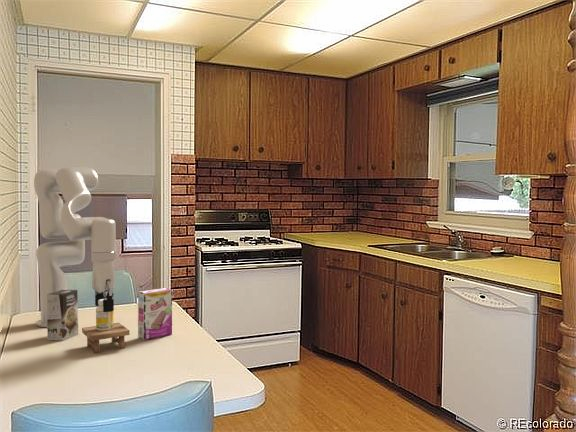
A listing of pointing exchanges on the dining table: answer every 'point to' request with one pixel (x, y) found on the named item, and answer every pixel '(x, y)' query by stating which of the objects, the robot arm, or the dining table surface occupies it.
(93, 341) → the stool
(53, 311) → the coffee box
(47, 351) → the dining table surface
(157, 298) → the candy bar box
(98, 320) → the supplement bottle
